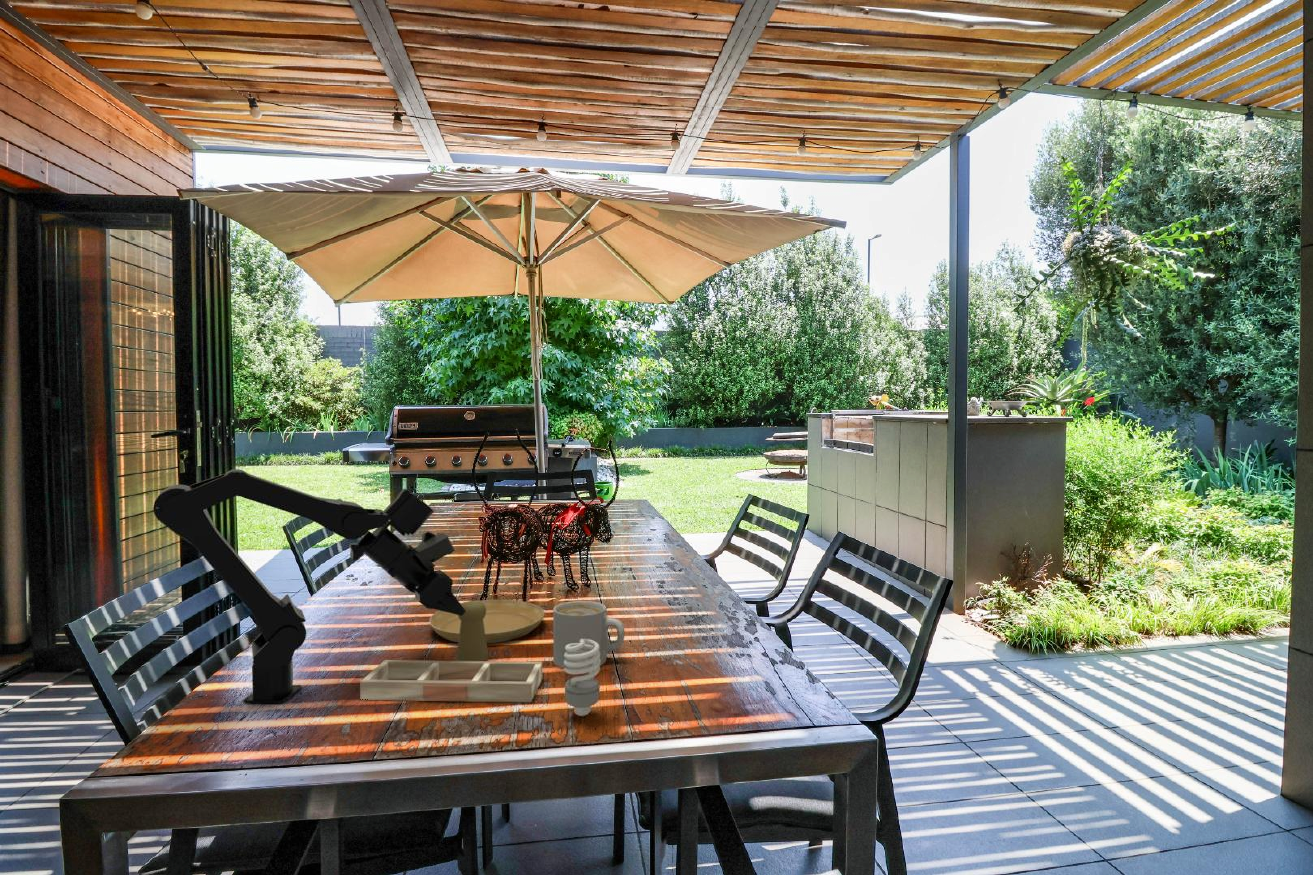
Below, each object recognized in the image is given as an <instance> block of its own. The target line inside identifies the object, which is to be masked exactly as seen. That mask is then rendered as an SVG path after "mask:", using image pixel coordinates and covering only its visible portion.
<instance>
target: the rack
mask: <svg viewBox="0 0 1313 875" xmlns="http://www.w3.org/2000/svg"><path fill="white" fill-rule="evenodd" d="M542 681H543V661H489V660H488V661H456V660H410V659H407V660H405V659H403V660H401V659H396V660H395V659H384V660H383V661H381V663H380V664H378V666H376V667H375V668H374V669H373V670H371V671H370V673H368V674H367V675H366V676H365V677H363V679H361V680H360V682H359V691H360V692H359V694H360V698H359V700H360V699H361V700H362V699H363V700H362V701H410V702H411V701H415V702H417V701H418V702H419V701H420V702H425V701H426V702H478V703H479V702H482V703H483V702H484V703H485V702H490V703H491V702H493V703H495V702H496V703H532V701H533V699H534V698H535V695H536V693H537V691H538V689H539V687H540V685H541V683H542ZM365 699H366V700H365ZM367 699H368V700H367ZM361 700H360V701H361Z"/></svg>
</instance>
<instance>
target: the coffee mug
mask: <svg viewBox="0 0 1313 875" xmlns="http://www.w3.org/2000/svg"><path fill="white" fill-rule="evenodd" d="M552 614H553V618H552V619H553V622H552V624H553V626H552V627H553V630H552V631H553V634H552V635H553V643H552V644H553V645H552V646H553V647H552V648H553V664H554V665H555V666H557V667H559V668H561V669H564V670H565V667H566V665H564V660H565V659H566V658H565V657H564V654H565V653H566V652H567V651H566V650H565V646H566V645H568V644H572V643H580V640H581V639H590V640H593V641H595V642H597V643H598V644H599V652H600V660H601V662H600V665H599V666H602V665H604V664H605V663H606V662H607V655H608V653H610V652H612V651H615V650H617V649H619V648H620V647H621V646H622V645H623V643H624V641H625V627H624V624H623V623H622V621H621V620H619V619H617V618H614V617H610V616H609V617H608V616H607V607H606V605H605V604H603V603H600V602H596V601H592V600H591V601H590V600H577V601H575V600H573V601H568V602H567V601H566V602H562V603H559V604H558V605H555V606H554V607H553V613H552ZM609 627H615V630H616V632H617V638H616V640H615V641H611V640H610V638H609V634H608V629H609ZM588 645H589V644H588ZM591 646H592V645H591ZM580 650H583V651H591V650H588V649H584V648H581V649H580ZM588 659H591V657H588ZM587 666H589V667H590V666H592V665H587Z"/></svg>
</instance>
